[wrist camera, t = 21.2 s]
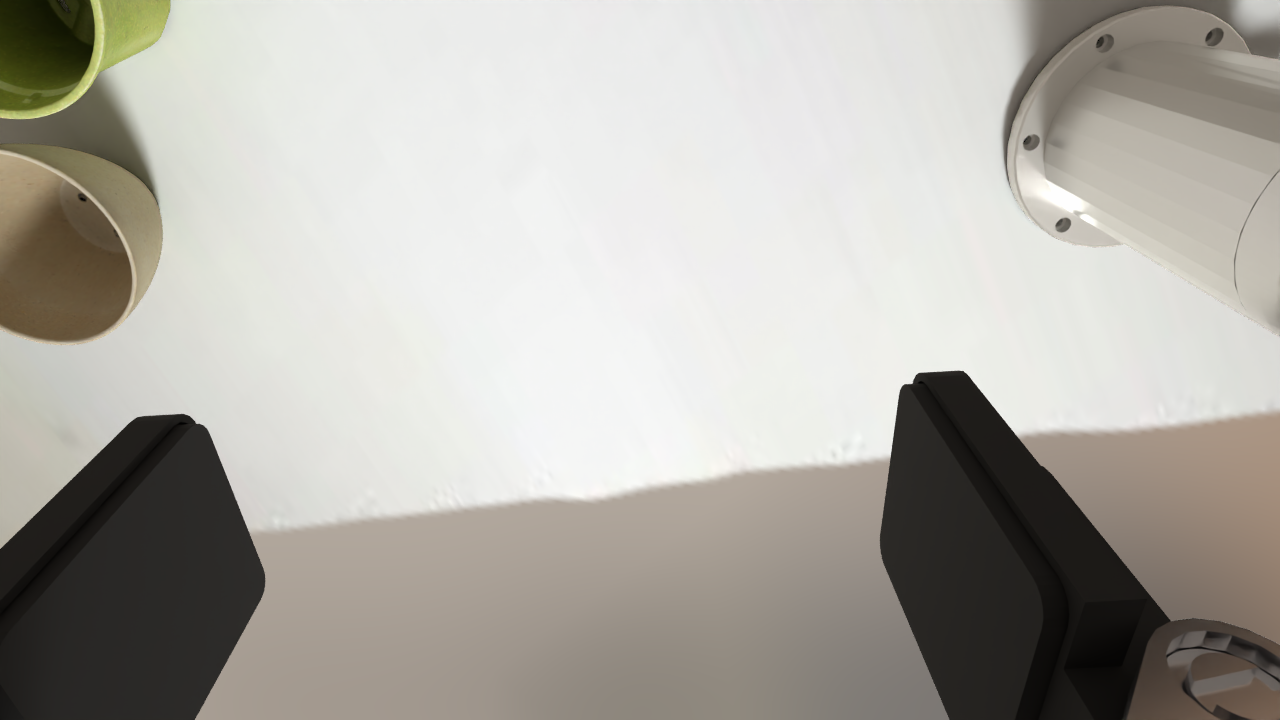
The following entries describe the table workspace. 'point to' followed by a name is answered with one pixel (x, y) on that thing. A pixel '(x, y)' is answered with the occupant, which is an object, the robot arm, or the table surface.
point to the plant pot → (67, 48)
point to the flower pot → (72, 243)
